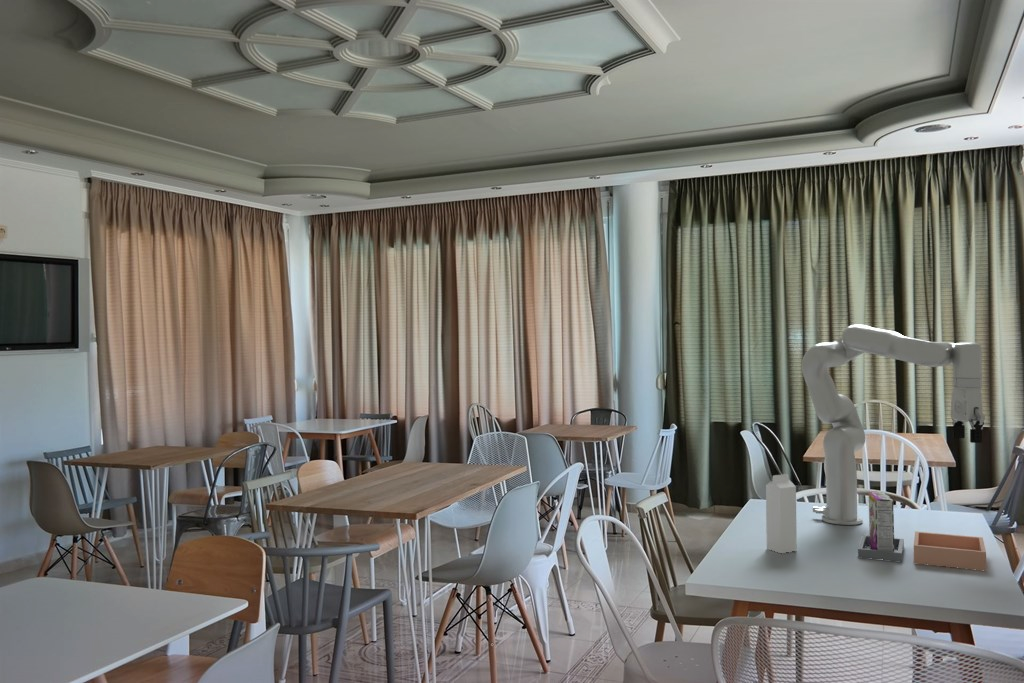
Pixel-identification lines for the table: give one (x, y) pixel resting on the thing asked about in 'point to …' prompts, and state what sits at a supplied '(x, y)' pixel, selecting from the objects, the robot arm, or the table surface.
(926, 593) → the table surface
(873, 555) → the tray
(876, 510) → the candy bar box
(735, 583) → the table surface
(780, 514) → the milk
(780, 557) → the table surface
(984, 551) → the salmon hollow open box
